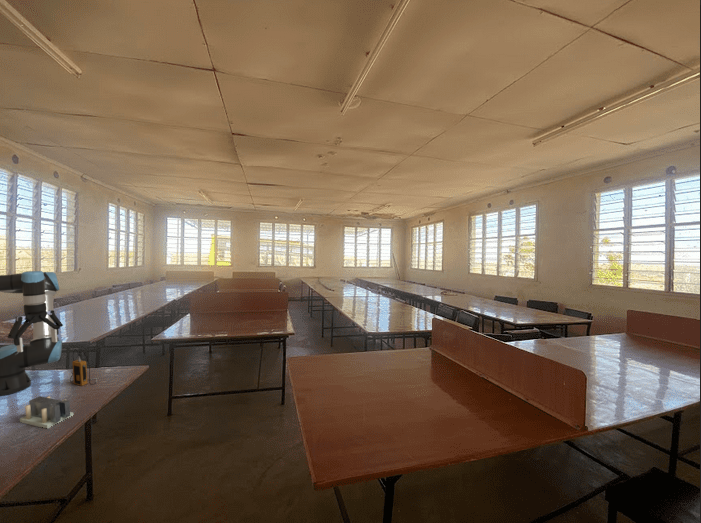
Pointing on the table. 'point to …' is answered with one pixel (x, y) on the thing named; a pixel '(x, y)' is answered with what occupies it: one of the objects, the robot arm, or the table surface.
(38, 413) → the long grey bar
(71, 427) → the table surface
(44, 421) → the peg rack
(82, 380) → the multimeter
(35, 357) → the robot arm
